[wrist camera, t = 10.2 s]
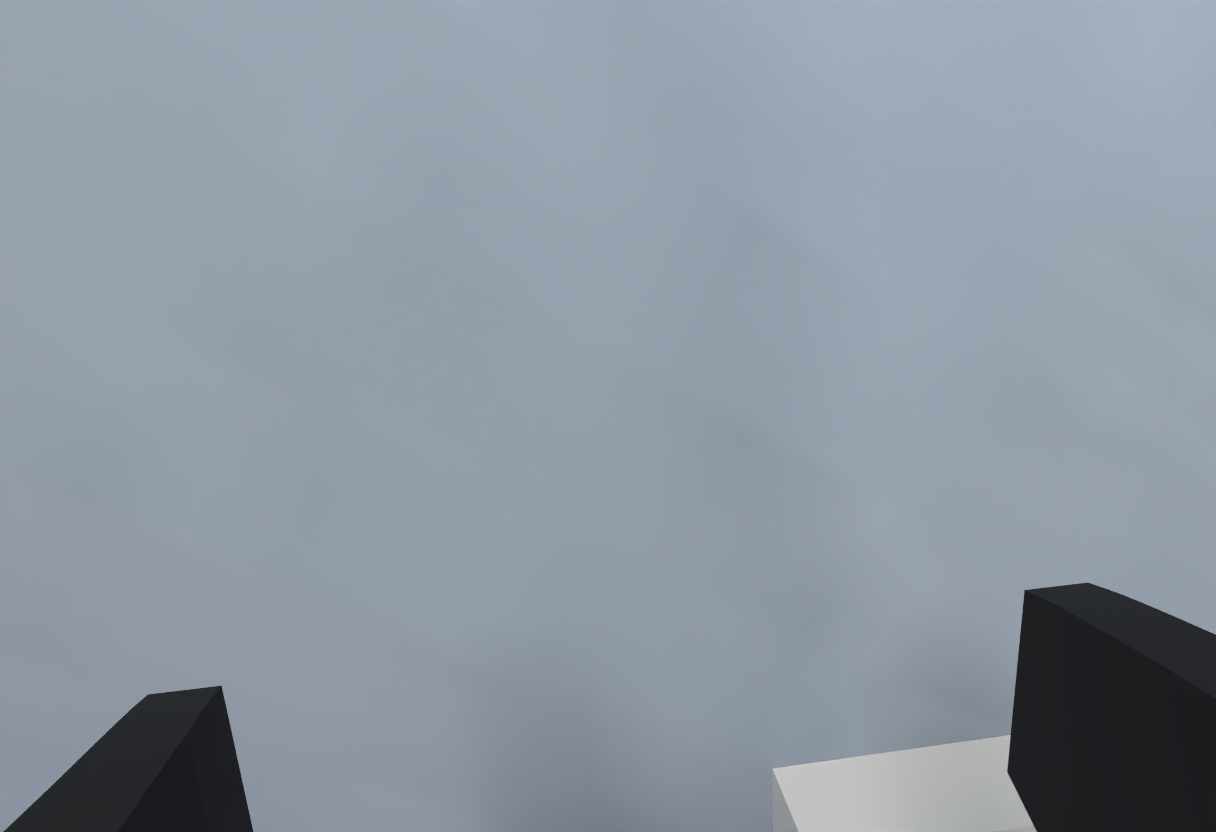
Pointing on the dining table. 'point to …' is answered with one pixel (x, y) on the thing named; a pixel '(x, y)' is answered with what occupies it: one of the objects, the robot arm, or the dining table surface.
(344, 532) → the dining table surface
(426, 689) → the dining table surface
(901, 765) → the tile block
